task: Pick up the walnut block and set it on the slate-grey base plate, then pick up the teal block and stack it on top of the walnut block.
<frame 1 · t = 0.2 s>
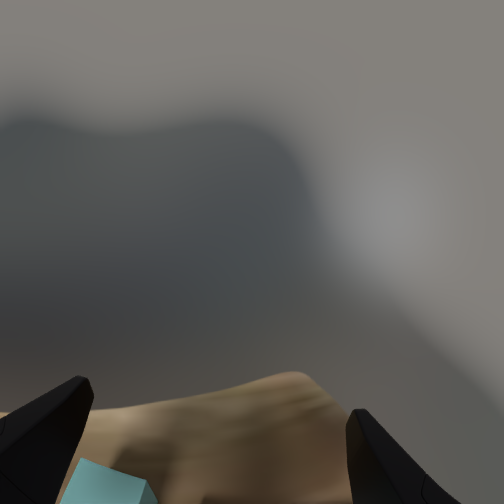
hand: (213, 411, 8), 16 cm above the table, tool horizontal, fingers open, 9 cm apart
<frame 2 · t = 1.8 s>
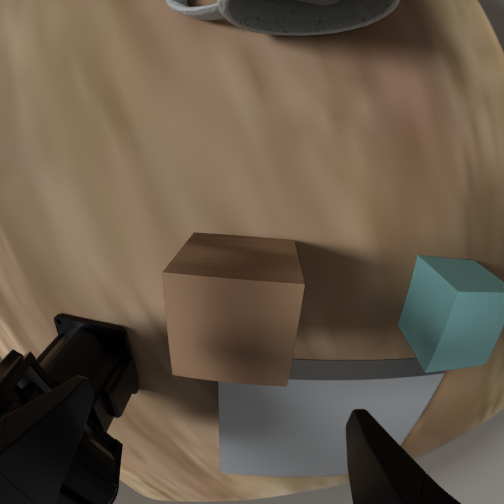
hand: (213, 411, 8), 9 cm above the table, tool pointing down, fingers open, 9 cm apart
teal block: (437, 292, 17), on the table
base plate: (319, 421, 21), on the table
walnut block: (241, 281, 17), on the table
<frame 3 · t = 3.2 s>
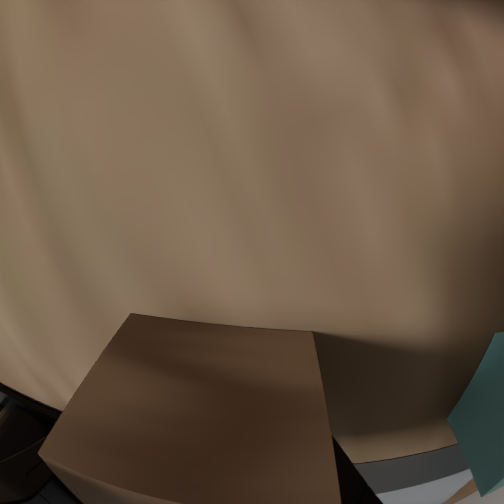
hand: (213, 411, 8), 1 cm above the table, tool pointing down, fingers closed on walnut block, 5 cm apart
teal block: (503, 372, 9), on the table
walnut block: (217, 389, 9), on the table, touching gripper
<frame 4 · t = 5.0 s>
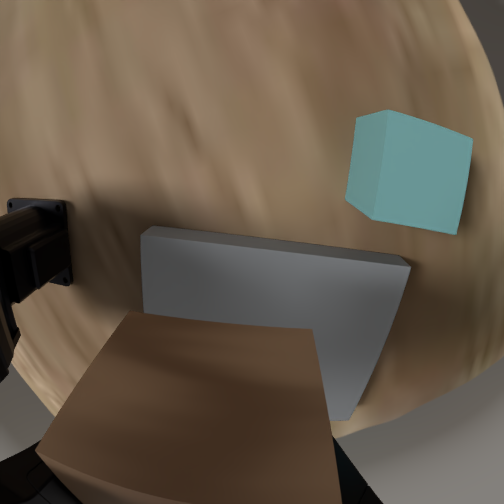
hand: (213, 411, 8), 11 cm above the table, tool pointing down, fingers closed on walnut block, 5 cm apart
teal block: (388, 166, 16), on the table
base plate: (265, 335, 21), on the table
walnut block: (217, 387, 9), point 10 cm above the table, touching gripper
when the fingers open (4 cm above the table, at t = 7.0 s): walnut block drops 1 cm, resting on base plate.
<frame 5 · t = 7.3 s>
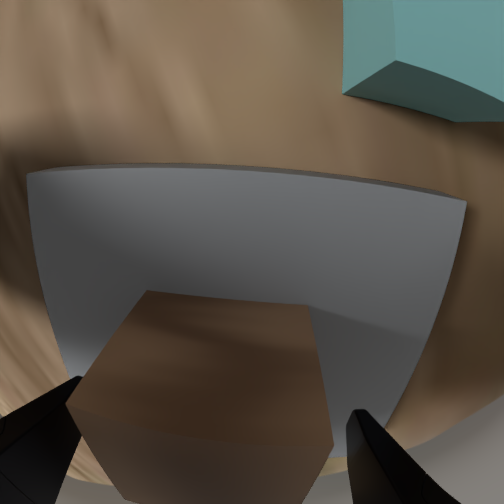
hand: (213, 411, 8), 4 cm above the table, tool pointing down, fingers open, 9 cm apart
teal block: (403, 49, 8), on the table
base plate: (230, 333, 13), on the table
walnut block: (223, 361, 11), point 2 cm above the table, touching base plate
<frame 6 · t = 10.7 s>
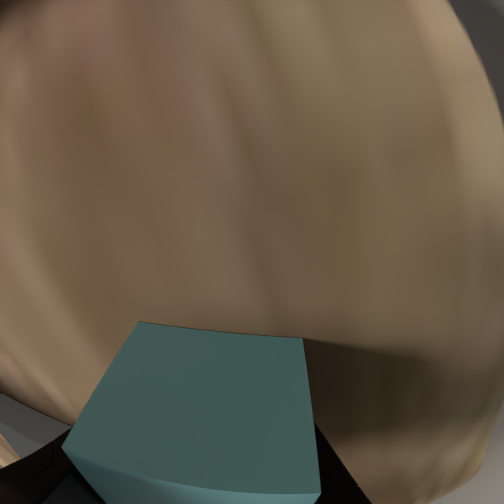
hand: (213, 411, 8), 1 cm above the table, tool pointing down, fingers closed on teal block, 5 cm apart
teal block: (217, 389, 9), on the table, touching gripper
base plate: (133, 489, 14), on the table
when the fingers open (9 cm above the table, at t = 13.7 s): teal block stays where it is, resting on walnut block.
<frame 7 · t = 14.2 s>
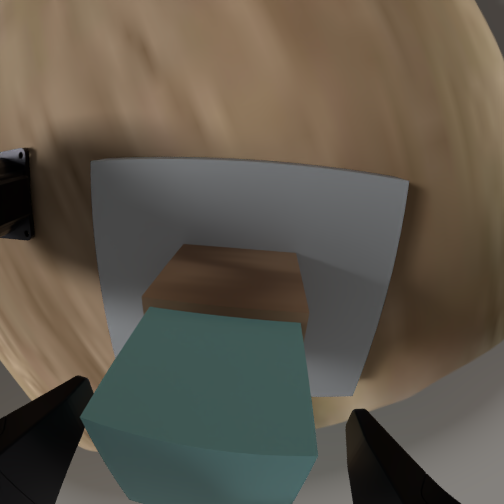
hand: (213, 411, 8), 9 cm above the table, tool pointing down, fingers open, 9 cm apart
teal block: (221, 372, 10), point 7 cm above the table, touching walnut block
base plate: (240, 283, 17), on the table
walnut block: (236, 298, 15), point 2 cm above the table, touching base plate, teal block
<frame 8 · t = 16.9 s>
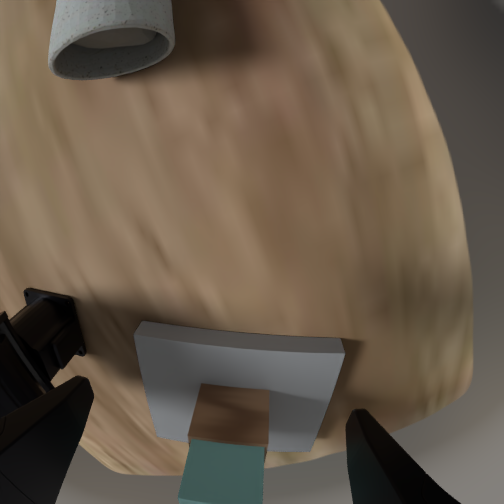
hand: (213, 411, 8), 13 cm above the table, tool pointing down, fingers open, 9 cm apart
teal block: (227, 459, 18), point 7 cm above the table, touching walnut block
ceramic mug: (119, 35, 16), on the table
base plate: (236, 392, 25), on the table
walnut block: (234, 407, 23), point 2 cm above the table, touching base plate, teal block
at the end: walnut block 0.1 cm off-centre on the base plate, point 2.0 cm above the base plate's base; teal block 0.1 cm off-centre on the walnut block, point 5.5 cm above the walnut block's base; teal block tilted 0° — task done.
